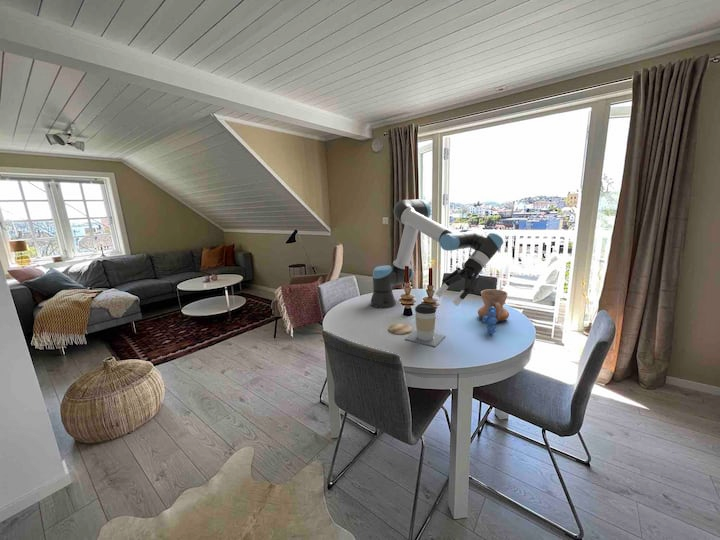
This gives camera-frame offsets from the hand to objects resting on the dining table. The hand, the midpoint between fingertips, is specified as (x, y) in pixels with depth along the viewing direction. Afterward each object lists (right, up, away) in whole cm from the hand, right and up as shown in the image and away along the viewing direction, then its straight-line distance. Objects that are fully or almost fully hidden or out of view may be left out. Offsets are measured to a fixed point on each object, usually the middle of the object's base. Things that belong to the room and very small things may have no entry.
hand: (445, 299), depth 129 cm
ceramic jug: (+30, -12, +20) cm, 38 cm away
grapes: (+21, -16, +5) cm, 27 cm away
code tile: (-9, -17, +1) cm, 19 cm away
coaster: (-18, -16, +11) cm, 27 cm away
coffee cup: (-9, -17, +1) cm, 19 cm away
